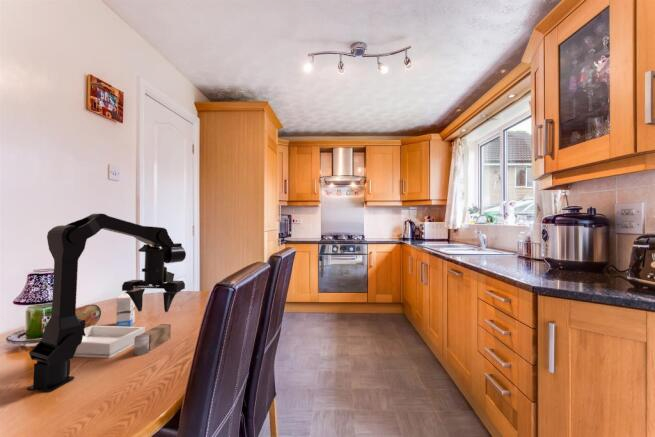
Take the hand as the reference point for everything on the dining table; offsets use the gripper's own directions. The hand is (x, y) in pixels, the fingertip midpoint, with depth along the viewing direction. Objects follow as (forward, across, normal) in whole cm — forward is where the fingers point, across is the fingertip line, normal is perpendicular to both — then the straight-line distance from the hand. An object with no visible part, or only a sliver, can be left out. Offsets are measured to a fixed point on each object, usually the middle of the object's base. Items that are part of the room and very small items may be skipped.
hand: (153, 311), depth 102 cm
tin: (+12, +39, -14) cm, 43 cm away
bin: (+11, +17, +2) cm, 20 cm away
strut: (+11, 0, 0) cm, 11 cm away
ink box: (+12, +25, -20) cm, 34 cm away
